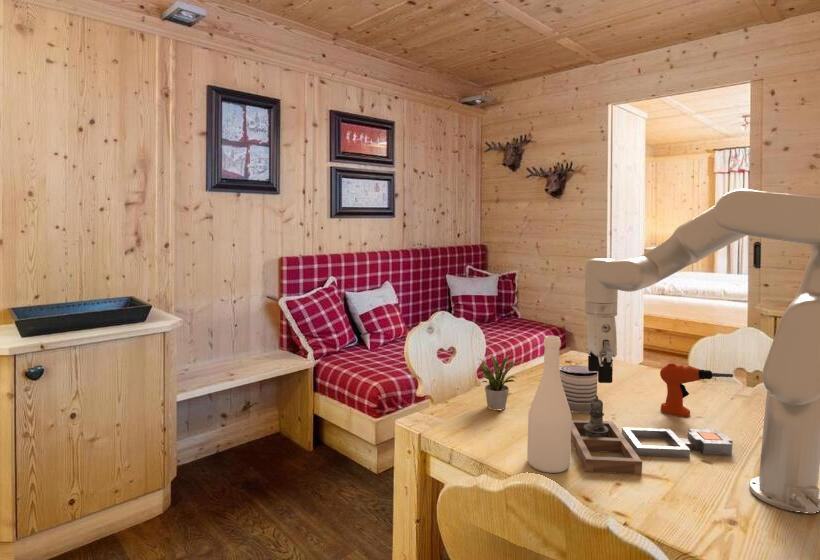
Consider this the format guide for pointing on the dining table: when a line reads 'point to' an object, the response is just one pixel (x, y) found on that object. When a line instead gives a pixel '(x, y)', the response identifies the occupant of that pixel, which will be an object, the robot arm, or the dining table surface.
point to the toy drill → (681, 386)
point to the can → (579, 387)
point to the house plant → (497, 383)
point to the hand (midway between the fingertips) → (599, 376)
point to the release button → (709, 436)
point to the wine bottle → (550, 417)
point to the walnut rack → (605, 450)
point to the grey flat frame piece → (677, 443)
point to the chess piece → (596, 420)
